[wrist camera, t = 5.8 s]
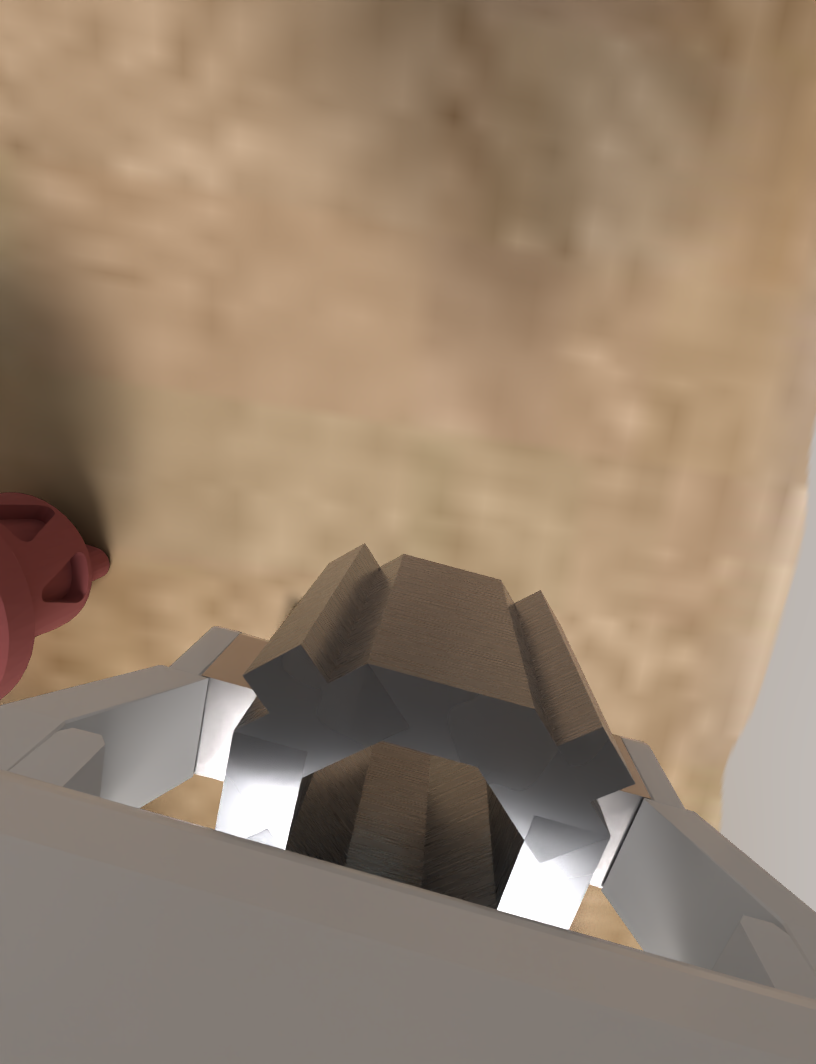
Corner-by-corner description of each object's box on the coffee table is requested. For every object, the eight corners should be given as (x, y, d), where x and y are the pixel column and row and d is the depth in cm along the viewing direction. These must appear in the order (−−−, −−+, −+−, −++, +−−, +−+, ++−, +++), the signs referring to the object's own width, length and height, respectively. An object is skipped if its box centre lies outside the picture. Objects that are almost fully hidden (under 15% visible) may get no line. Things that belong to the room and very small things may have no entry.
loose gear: (335, 535, 10) (250, 630, 6) (570, 598, 10) (654, 741, 6) (291, 734, 12) (196, 929, 7) (499, 792, 12) (526, 1025, 7)
